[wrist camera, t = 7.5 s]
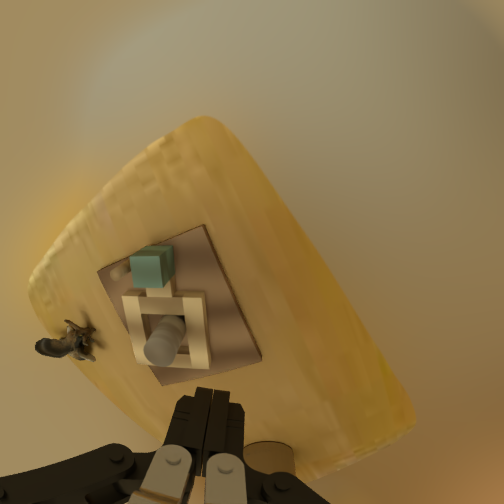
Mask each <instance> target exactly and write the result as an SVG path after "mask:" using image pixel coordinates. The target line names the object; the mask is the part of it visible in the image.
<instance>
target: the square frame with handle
mask: <svg viewBox="0 0 504 504" xmlns="http://www.w3.org/2000/svg"><path fill="white" fill-rule="evenodd" d="M129 258H130V265H131V273H132V280H133V286H134V288H146V290H127V291H126V292H125V293H124V294H123V295H122V301H123V306H124V311H125V316H126V321H127V325H128V330H129V334H130V338H131V342H132V346H133V350H134V354H135V358H136V362H137V364H144V365H153V366H156V365H154V364H152V363H151V362H149V361H148V360H147V358H146V357H145V355H144V351H143V349H144V345H145V344H146V342H147V341H148V339H149V337H150V336H151V330H150V325H149V319H148V314H162V315H184V316H185V323H186V331H187V338H188V344H189V346H180V347H179V349H178V352H177V354H176V356H175V359H174V361H173V363H172V364H171V365H169V366H166V367H176V368H192V369H210V364H211V352H210V343H209V334H208V324H207V314H206V302H205V291H176V282H175V264H174V253H173V245H164V246H145V247H144V248H142V249H141V250H139V251H137V252H136V253H134V254H133V255H131V256H129Z"/></svg>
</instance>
